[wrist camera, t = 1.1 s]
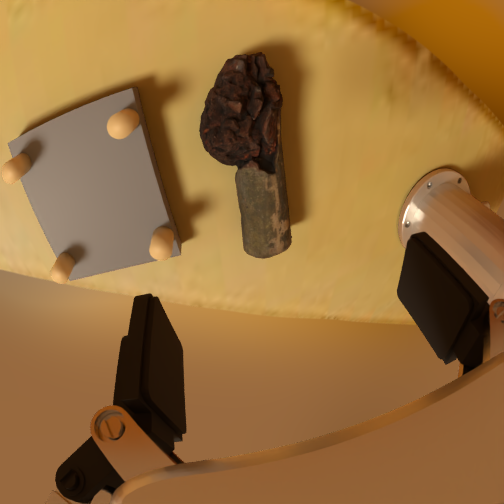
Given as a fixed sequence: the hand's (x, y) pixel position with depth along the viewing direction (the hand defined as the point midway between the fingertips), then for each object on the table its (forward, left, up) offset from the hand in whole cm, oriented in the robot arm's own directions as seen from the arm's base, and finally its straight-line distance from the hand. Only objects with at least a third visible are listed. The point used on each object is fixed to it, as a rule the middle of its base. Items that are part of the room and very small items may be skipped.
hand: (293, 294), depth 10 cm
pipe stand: (+13, 0, -18) cm, 23 cm away
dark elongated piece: (-1, 0, -19) cm, 19 cm away
